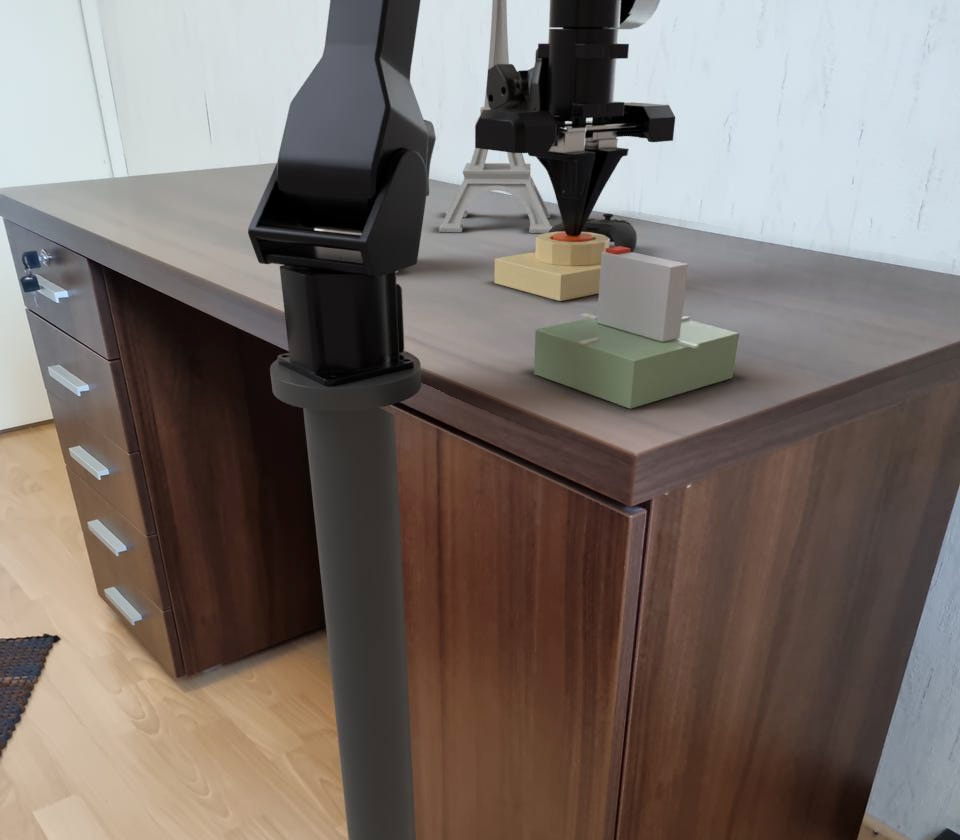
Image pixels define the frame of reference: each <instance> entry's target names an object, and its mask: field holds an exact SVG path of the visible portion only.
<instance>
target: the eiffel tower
mask: <svg viewBox="0 0 960 840" xmlns="http://www.w3.org/2000/svg"><path fill="white" fill-rule="evenodd" d="M507 7H508V6H507V0H492V4H491V23H490V38H489V39H490V40H489V52H488V64H487V65H488V66H487V70H488V69H490V68H492V67H493V66H495V65H497V64H510V58H509V57H510V56H509V39H508V38H509V37H508V10H507V9H508V8H507ZM486 89H487V84H486V86H485V90H486ZM483 110H491V109H490V107H489V104H488V99H487V93H486V92H485V97H484V103H483V106H481V107H480V108H479V111H480V112H479V115H481V113H482V111H483ZM488 153H489V150H487V149H480V148H475V147H474V151H473V154H472V157H471V160H470V162H467V163H466V164H465V165H464V168H463V169H462V175H463V180H462V182H461V184H460V186H459V188H458V190H457V192H456V194H455V196H454V198H453V200H452V202H451V203H450V206H449V208H448V210H446V211H445V214H444V215H445V216H444V219H443V221H442V224H441V223H440V225H439V227H438V232H439V233H462V232H463V230H464V229H463V228H464V224H462V222H463V218H467V217H468V210H467V209H468V207H469V205H470V204H471V203H472V202H473V201H474V200H475V199H476V198H477V197H479V196H481V195H482V194H485V193H487V192H492V191H499V192H505V193H507V194H510V195H512V196H513V197H515V198H516V199H517V200H518V201H519V202H520V203H521V204H522V206H523V207H524V209H525V211H526V214H527V216H528V219H529V223H530V224H529V227H528V228H529V229H528V232H529V234H544V233H548V232H549V230H550V229H551V228H553V225H552V224H550V222H549V219H551V211H549V209H548V207H547V206H546V205H547V204H546V203H545V202H544V199H543V197H542V196H541V193H540V191H539V189H538V188H537V186H536V184H535V181H534V179H533V177H532V176H531V163H526V162H525V158H524V155H523V154H524V153H511V152H506V153H507V158H508V162H507V163H506V162H505V163H504V162H503V163H502V162H499V163H497V162H486V161H487V156H488Z"/></svg>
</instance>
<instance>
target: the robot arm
mask: <svg viewBox="0 0 960 840" xmlns="http://www.w3.org/2000/svg"><path fill="white" fill-rule="evenodd" d="M421 1H422V0H329V8H328V15H327V23H326V24H327V25H326V33H325V41H324V47H323V52H322V55H321V58H320V59H319V61H318V62H317V64H316V65H315V66H314V68H313V69H312V71H311V72H310V73H309V75H308V76H307V78H306V79H305V81H304V83H303V84H302V85H301V86H300V88H299V90H297V93H296V94H295V95H294V97H293V98H292V100H291V102H290V103H289V104H290V105H289V106H288V111H287V116H286V120H285V124H284V128H283V132H282V138H281V142H280V146H279V151H278V155H277V161H276V164H275V166H274V168H273V171H272V173H271V176H270V178H269V179H268V183H267V185H266V187H265V189H264V190H263V191H264V192H263V193H262V196H261V199H260V201H259V203H258V205H257V207H256V210H255V212H254V214H253V217H252V218H251V220H250V223H249V225H248V230H247V233H248V237H249V240H250V242H251V245H252V248H253V251H254V254H255V257H256V259H257V261H258V263H259V264H263V265H270V264H273V265H280V266H279V273H280V274H279V275H280V282H281V284H280V285H281V292H282V302H283V310H284V318H285V319H284V320H285V329H286V337H287V339H286V340H287V347H288V353H281V354H278V355H277V356H276V357H277V359H278V364H280V365H282V366H284V367H286V368H288V369H290V370H292V371H294V372H297V373H299V374H301V375H303V376H305V377H307V378H309V379H311V380H313V381H315V382H317V383H319V384H321V385H324V386H328V387H332V386H338V385H342V384H346V383H351V382H355V381H360V380H364V379H368V378H373V377H377V376H382V375H386V374H390V373H395V372H399V371H404V370H408V369H412V368H414V360H413V359H411V358H408V357H406V356H403V355H401V354H399V353H402V352H403V351H405V328H404V327H405V325H404V306H403V305H404V304H403V303H404V302H403V301H404V300H403V288H402V286H401V285H400V284H399V283H397V273H396V271H398V272H399V271H401V270H405V269H407V268H411V267H414V266H416V265H417V263H418V258H419V253H420V244H421V237H422V232H423V231H422V229H423V224H424V216H425V210H426V209H425V208H426V204H427V203H426V202H427V197H428V196H429V195H430V172H431V170H430V169H431V161H432V157H433V153H434V150H435V149H434V148H435V145H436V141H437V136H436V132H435V127H434V126H435V125H434V124H433V122H432V121H429V120H427V119H424V116H423V114H422V111H421V109H420V105H419V102H418V100H417V98H416V97H417V96H416V95H415V92H414V89H413V86H412V83H411V71H412V63H413V55H414V49H415V42H416V35H417V28H418V21H419V20H418V19H419V14H420V6H421ZM660 1H661V0H549V16H548V28H549V29H548V43H547V42H546V43H538V44H537V48H536V50H535V59H534V60H535V61H534V66H533V67H531V68H530V69H525V70H518V69H516V66H515V65H514V64H513V63H509V64H497V65H495V66H493V67H492V68H490V69H488V68H487V78H486V85H487V89H486V88H485V94H486V93H487V99H488V104H489V107H490V109H491V110H483V111H482V113H481V114H479V116H478V118H477V120H476V122H475V125H474V149H475V148H480V149H487V150H488V151H497V152H504V153H507V152H511V153H522V154H527V155H528V156H529V157H535V158H536V159H537V160H538V162H539V163H540V164H541V166H543V167H544V169H545V170H546V172H547V174H548V177H549V180H550V183H551V185H552V189H553V192H554V196H555V199H556V204H557V206H558V211H559V214H560V218H561V223H562V222H563V225H564V229H565V233H566V234H567V235H568V236H579V235H580V234H581V232H582V230H583V228H584V226H585V224H586V222H587V220H588V219H590V216H591V214H592V212H593V210H594V208H595V206H596V204H597V202H598V200H599V198H600V196H601V194H602V192H603V190H604V188H605V187H606V185H607V184H608V182H609V180H610V177H611V176H612V175H613V174H614V172H615V170H616V168H617V166H618V165H619V163H620V161H621V159H622V158H623V157H626V156H628V155H629V152H630V149H629V148H626V147H618V146H619V138H622V137H630V138H631V137H632V138H639V139H646V141H648V143H660V142H661V143H663V142H673V141H674V136H675V124H676V116H675V114H674V112H673V110H672V108H671V106H670V104H664V103H663V104H662V103H647V102H633V101H632V102H625V101H615V97H616V96H615V94H616V80H617V65H618V59H629V49H630V44H629V43H619V37H620V30H634V29H637V28H640V27H641V26H643V25H645V24H646V23H647V22H648V21H649V20H650V19H652V17H653V15H654V14H655V13H656V11H657V9H658V8H659V7H658V6H659V4H660ZM517 70H518V71H517ZM587 119H592V120H587ZM315 229H323V230H333V231H342V232H352V233H361V234H362V235H354V234H344V233H335V232H326V231H316V230H315Z"/></svg>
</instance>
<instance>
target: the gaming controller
mask: <svg viewBox="0 0 960 840" xmlns="http://www.w3.org/2000/svg"><path fill="white" fill-rule="evenodd" d="M602 217H604V219H603V218H601V219H598V218H597V219H596V218H593V217H592V218H588V220H587V222H586V224H585V226H584V228H583V230H582V232H591V233H596V234H601V235H605V236H606V237H608V238H609V239H610V243H613V244H614V247H617V246H622V247H627V248H631V250H630V252H634V251H635V249H636V247H637V240H638V236H637V230H636V229H635V228H634V226H633V224H631V223H630V222H629V221H626V220H625V219H616V218H614V219H611V218H613V217H614V215H613V213H603V214H602ZM564 231H565V229H564V225H563V222H562V221H561V222H560V223H558V224H556V225H554V226H552V228H551V229H550V230H549V232H548V233H551V232H564Z"/></svg>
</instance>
